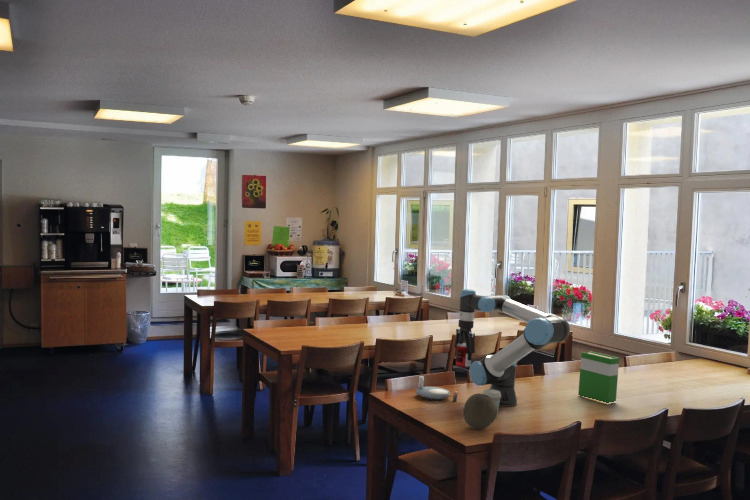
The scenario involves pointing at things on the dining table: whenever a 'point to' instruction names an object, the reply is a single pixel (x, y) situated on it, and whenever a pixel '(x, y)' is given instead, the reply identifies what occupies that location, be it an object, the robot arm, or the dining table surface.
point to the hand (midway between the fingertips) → (463, 364)
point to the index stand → (441, 399)
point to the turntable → (431, 391)
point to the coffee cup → (493, 396)
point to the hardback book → (598, 376)
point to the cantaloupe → (480, 411)
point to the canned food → (461, 355)
